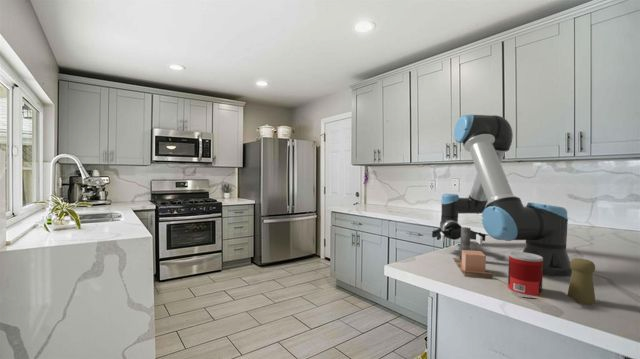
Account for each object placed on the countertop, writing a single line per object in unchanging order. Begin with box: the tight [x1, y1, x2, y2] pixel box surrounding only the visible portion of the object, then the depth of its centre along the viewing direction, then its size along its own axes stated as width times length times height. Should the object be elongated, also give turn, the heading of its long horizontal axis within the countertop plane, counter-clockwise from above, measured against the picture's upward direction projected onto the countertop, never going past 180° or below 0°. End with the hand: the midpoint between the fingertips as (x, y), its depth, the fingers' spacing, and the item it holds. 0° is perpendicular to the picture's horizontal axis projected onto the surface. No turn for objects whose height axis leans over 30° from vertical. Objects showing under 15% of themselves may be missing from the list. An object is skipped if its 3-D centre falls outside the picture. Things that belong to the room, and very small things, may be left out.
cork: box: [566, 258, 597, 306], centre depth 83 cm, size 6×6×11 cm
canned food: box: [507, 251, 544, 300], centre depth 87 cm, size 8×8×11 cm
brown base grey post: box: [452, 226, 494, 280], centre depth 107 cm, size 22×8×13 cm, turn 166°
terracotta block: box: [461, 249, 487, 272], centre depth 103 cm, size 6×6×6 cm
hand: (462, 239), depth 119 cm, fingers open, 13 cm apart
